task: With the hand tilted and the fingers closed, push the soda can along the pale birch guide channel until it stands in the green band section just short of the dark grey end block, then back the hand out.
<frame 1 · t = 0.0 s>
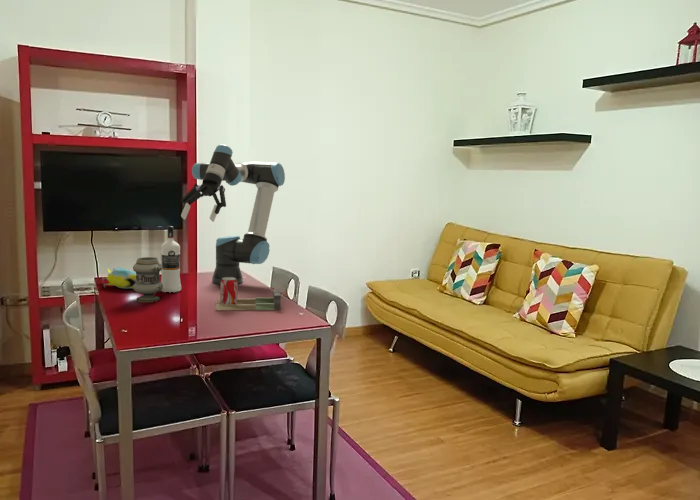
hand: (197, 218, 233), 36 cm above the table, fingers open, 13 cm apart
apothecary jar: (148, 300, 242), on the table
guide channel: (248, 306, 237), on the table
soda can: (228, 307, 236), resting on guide channel
vodka: (170, 291, 261), on the table
decorative bird: (131, 286, 267), on the table
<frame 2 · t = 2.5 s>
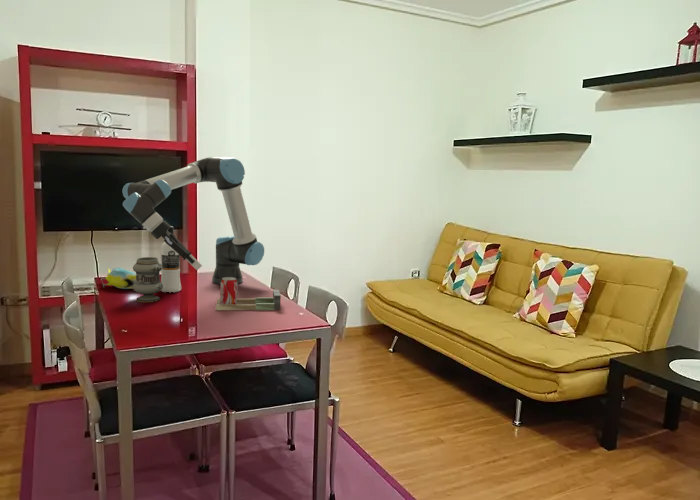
hand: (199, 267, 231), 16 cm above the table, fingers closed
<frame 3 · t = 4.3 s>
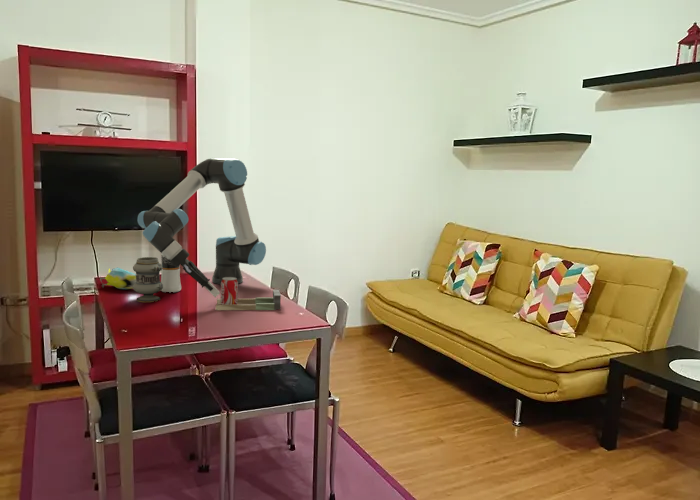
hand: (217, 294, 234), 5 cm above the table, fingers closed
soda can: (229, 307, 236), resting on guide channel, touching gripper
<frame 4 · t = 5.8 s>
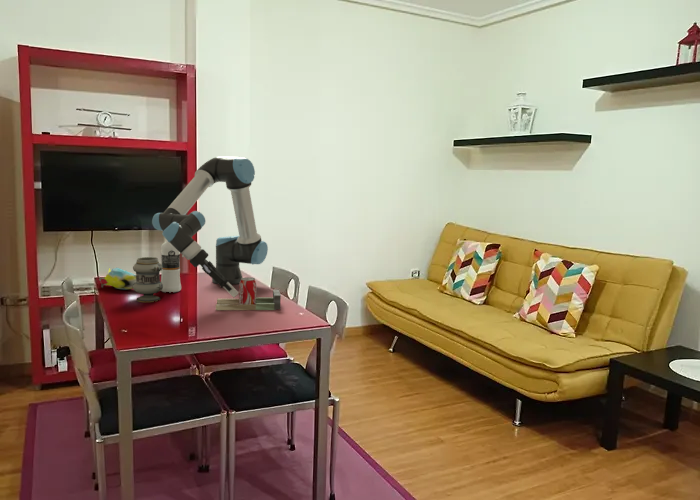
hand: (236, 295, 235), 5 cm above the table, fingers closed
soda can: (247, 307, 236), resting on guide channel, touching gripper
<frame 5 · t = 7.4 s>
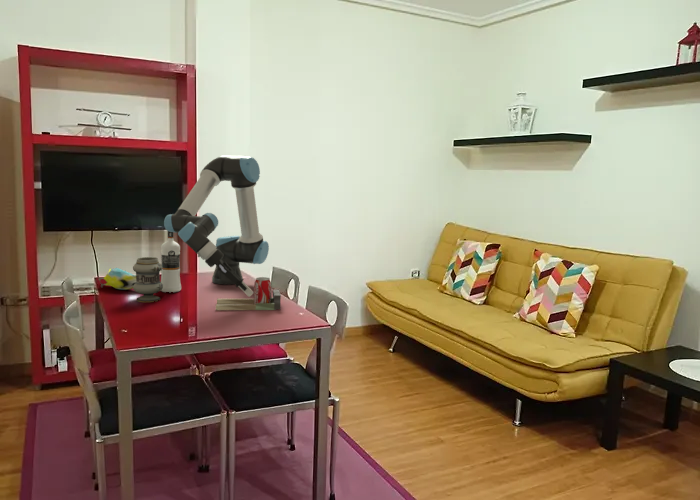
hand: (251, 294, 236), 5 cm above the table, fingers closed
soda can: (262, 307, 238), resting on guide channel, touching gripper
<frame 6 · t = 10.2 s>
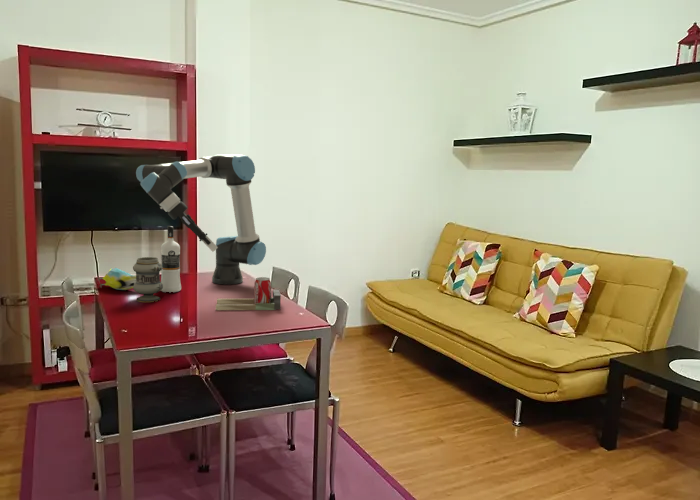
hand: (215, 249, 232), 24 cm above the table, fingers closed
soda can: (262, 307, 238), resting on guide channel
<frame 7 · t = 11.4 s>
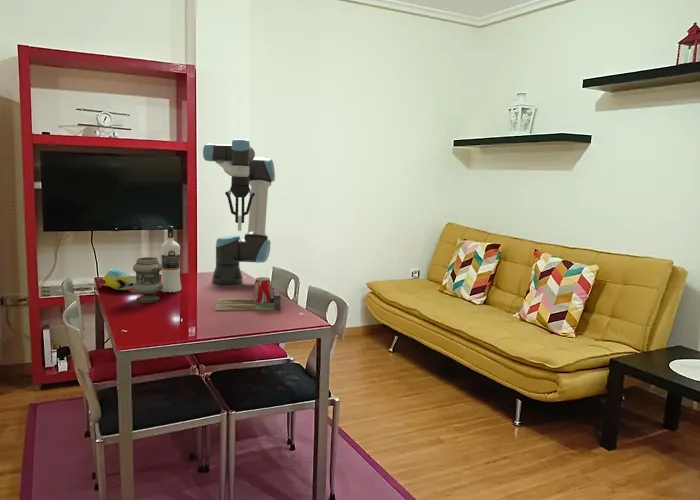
hand: (239, 230, 247), 30 cm above the table, fingers closed
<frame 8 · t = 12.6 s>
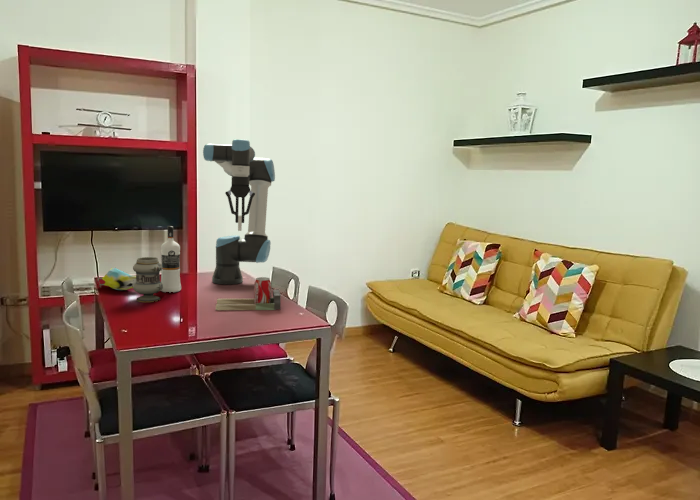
hand: (239, 230, 247), 30 cm above the table, fingers closed
at the end: soda can inside the target area on the guide channel (0.6 cm from its centre), point 0.0 cm above the guide channel's base; soda can tilted 0°; soda can moved 13.9 cm from its start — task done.
